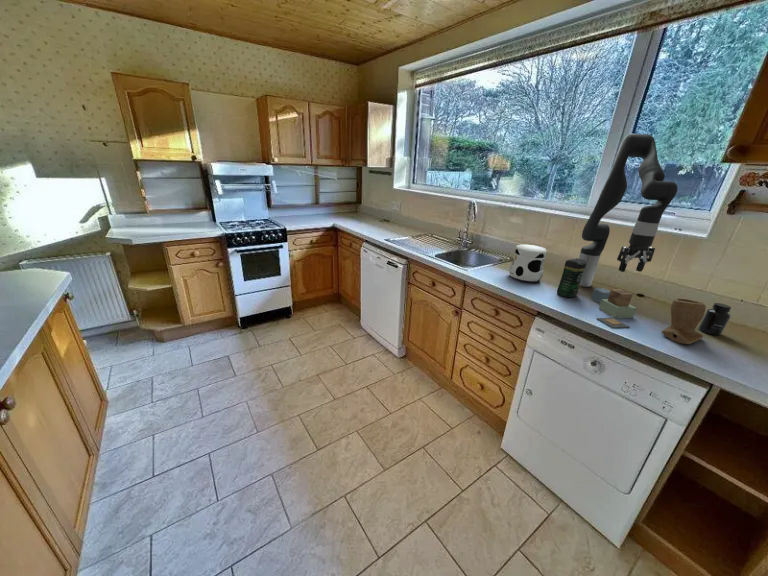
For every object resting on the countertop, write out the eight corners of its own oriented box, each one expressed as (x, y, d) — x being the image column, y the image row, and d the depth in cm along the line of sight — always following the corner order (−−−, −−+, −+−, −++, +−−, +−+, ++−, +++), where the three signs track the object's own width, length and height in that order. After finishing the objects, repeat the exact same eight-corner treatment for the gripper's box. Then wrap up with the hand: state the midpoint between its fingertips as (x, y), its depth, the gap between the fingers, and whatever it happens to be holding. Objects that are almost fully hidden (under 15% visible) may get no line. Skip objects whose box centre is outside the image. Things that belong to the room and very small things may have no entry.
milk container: (503, 273, 187) (509, 243, 180) (533, 274, 187) (540, 244, 180) (513, 283, 171) (520, 251, 164) (546, 285, 171) (554, 253, 164)
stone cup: (669, 326, 132) (683, 292, 126) (705, 340, 122) (723, 304, 117) (650, 333, 125) (664, 298, 120) (687, 348, 116) (704, 311, 110)
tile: (596, 319, 135) (597, 317, 134) (612, 318, 136) (613, 316, 136) (612, 328, 127) (613, 326, 127) (629, 327, 129) (630, 325, 128)
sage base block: (598, 309, 145) (601, 299, 143) (616, 309, 146) (619, 299, 144) (614, 318, 137) (617, 307, 135) (632, 318, 138) (636, 307, 136)
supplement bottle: (713, 337, 125) (727, 309, 120) (693, 328, 131) (706, 302, 126) (725, 335, 127) (739, 308, 122) (705, 327, 133) (717, 300, 128)
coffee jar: (569, 299, 154) (580, 262, 147) (553, 293, 160) (563, 258, 153) (579, 295, 159) (590, 260, 152) (563, 290, 165) (573, 255, 158)
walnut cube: (607, 300, 142) (611, 289, 140) (617, 300, 143) (621, 289, 141) (617, 306, 137) (621, 294, 135) (628, 305, 138) (632, 294, 136)
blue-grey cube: (590, 298, 156) (594, 288, 154) (600, 298, 157) (603, 288, 155) (599, 303, 151) (603, 292, 149) (609, 303, 152) (613, 292, 150)
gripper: (649, 231, 133) (636, 268, 139) (620, 231, 130) (608, 268, 136) (667, 235, 126) (652, 274, 132) (637, 235, 124) (623, 274, 130)
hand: (630, 271), depth 134 cm, fingers open, 8 cm apart
